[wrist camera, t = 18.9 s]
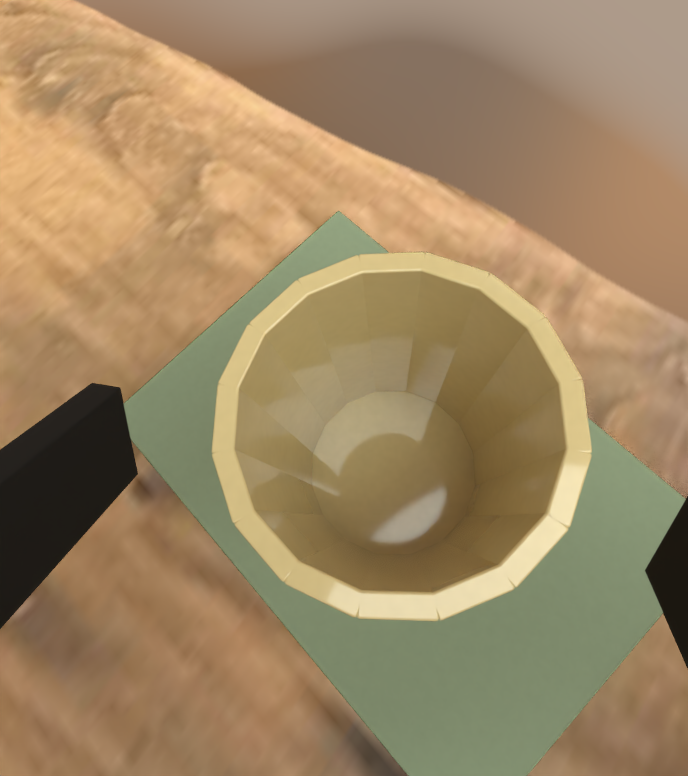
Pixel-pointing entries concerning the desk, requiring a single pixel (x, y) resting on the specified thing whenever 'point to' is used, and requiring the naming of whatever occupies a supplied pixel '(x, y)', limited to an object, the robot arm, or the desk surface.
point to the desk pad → (457, 633)
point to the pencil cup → (401, 436)
